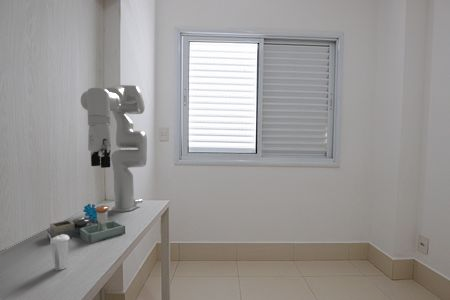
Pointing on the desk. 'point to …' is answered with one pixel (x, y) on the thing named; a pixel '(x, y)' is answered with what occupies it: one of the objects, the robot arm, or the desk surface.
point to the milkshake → (60, 251)
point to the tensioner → (68, 227)
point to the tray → (102, 232)
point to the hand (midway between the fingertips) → (100, 166)
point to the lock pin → (102, 218)
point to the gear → (91, 212)
